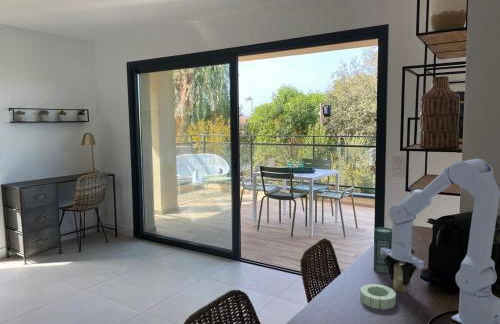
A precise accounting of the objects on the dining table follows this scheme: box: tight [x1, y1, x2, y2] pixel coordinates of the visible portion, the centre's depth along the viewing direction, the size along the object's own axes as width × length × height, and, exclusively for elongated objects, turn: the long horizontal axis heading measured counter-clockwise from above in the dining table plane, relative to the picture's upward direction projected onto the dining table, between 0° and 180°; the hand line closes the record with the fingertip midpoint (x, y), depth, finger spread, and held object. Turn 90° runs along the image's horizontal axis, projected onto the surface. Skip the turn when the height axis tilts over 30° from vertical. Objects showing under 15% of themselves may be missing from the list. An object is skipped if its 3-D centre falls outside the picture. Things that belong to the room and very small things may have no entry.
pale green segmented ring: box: [359, 283, 397, 310], centre depth 115 cm, size 10×10×3 cm
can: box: [373, 226, 392, 274], centre depth 136 cm, size 6×6×15 cm
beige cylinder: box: [392, 262, 408, 293], centre depth 121 cm, size 4×4×8 cm
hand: (400, 282), depth 122 cm, fingers closed on beige cylinder, 4 cm apart
